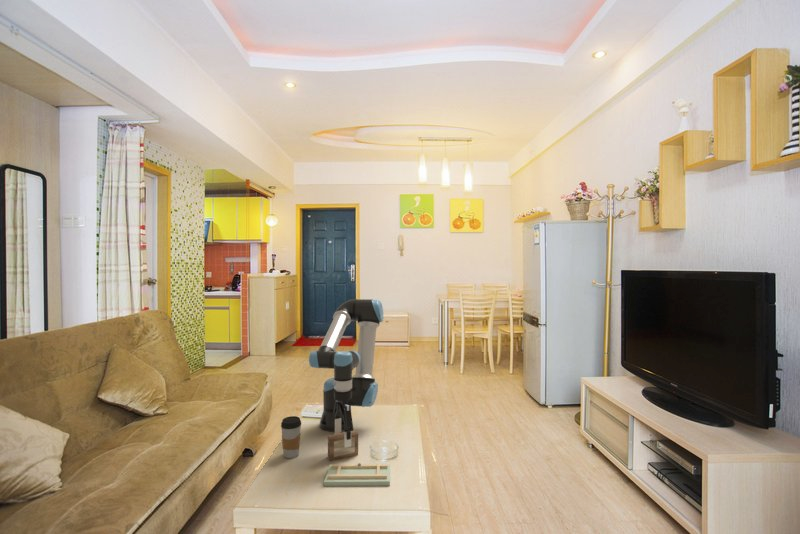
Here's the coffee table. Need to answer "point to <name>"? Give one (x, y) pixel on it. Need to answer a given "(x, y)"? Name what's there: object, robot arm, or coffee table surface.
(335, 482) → the mint cabinet door
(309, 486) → the coffee table surface
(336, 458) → the brown wooden picture frame
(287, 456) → the coffee cup
